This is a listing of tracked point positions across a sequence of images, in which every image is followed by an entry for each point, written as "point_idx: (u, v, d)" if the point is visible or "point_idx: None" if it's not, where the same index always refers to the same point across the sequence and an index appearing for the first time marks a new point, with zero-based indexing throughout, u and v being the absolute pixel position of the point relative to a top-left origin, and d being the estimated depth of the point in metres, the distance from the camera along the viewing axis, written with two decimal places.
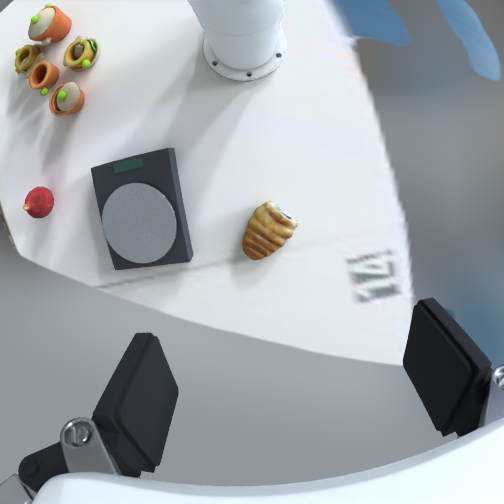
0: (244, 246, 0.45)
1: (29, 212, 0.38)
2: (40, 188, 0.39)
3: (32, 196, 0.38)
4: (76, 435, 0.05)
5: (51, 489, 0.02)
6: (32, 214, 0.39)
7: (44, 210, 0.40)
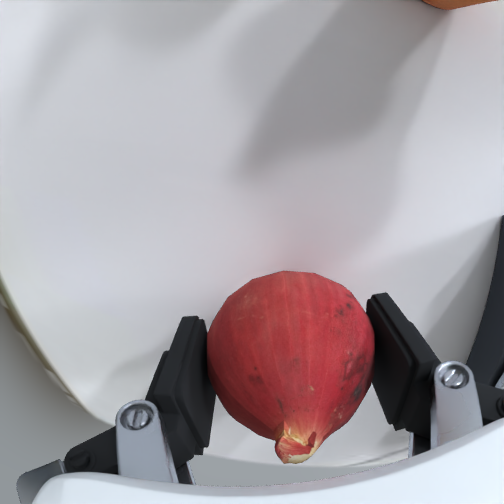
0: None
1: None
2: (337, 295, 0.08)
3: (339, 372, 0.07)
4: (134, 418, 0.06)
5: (51, 489, 0.02)
6: None
7: None
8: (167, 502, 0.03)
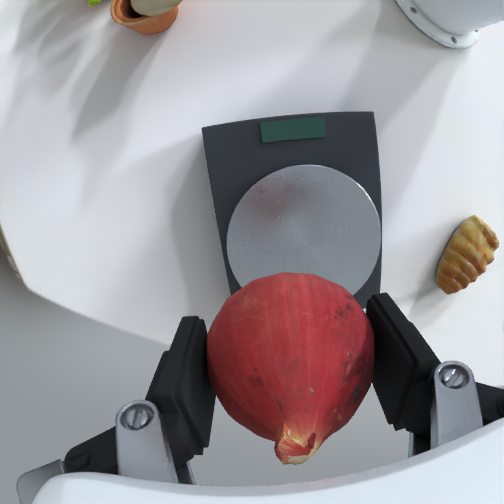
0: (445, 277, 0.26)
1: None
2: (336, 297, 0.08)
3: (339, 373, 0.07)
4: (134, 418, 0.06)
5: (51, 489, 0.02)
6: None
7: None
8: (167, 502, 0.03)
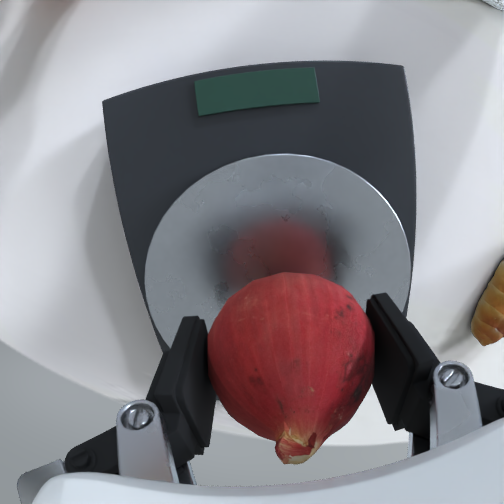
0: (486, 326, 0.16)
1: None
2: (337, 297, 0.08)
3: (339, 373, 0.07)
4: (134, 418, 0.06)
5: (51, 489, 0.02)
6: None
7: None
8: (167, 502, 0.03)
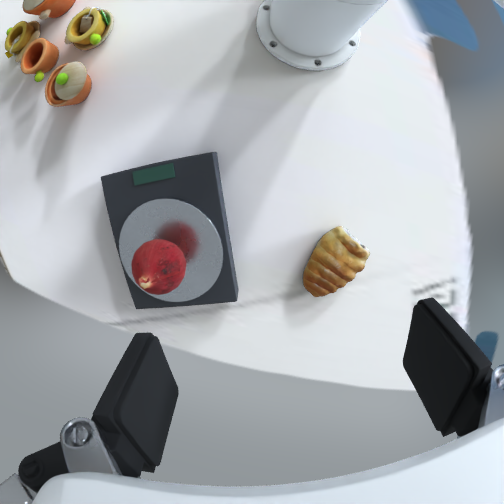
0: (307, 281, 0.35)
1: (148, 289, 0.27)
2: (165, 244, 0.28)
3: (157, 262, 0.26)
4: (76, 435, 0.05)
5: (51, 489, 0.02)
6: (154, 292, 0.27)
7: (177, 284, 0.29)
8: (167, 502, 0.03)
